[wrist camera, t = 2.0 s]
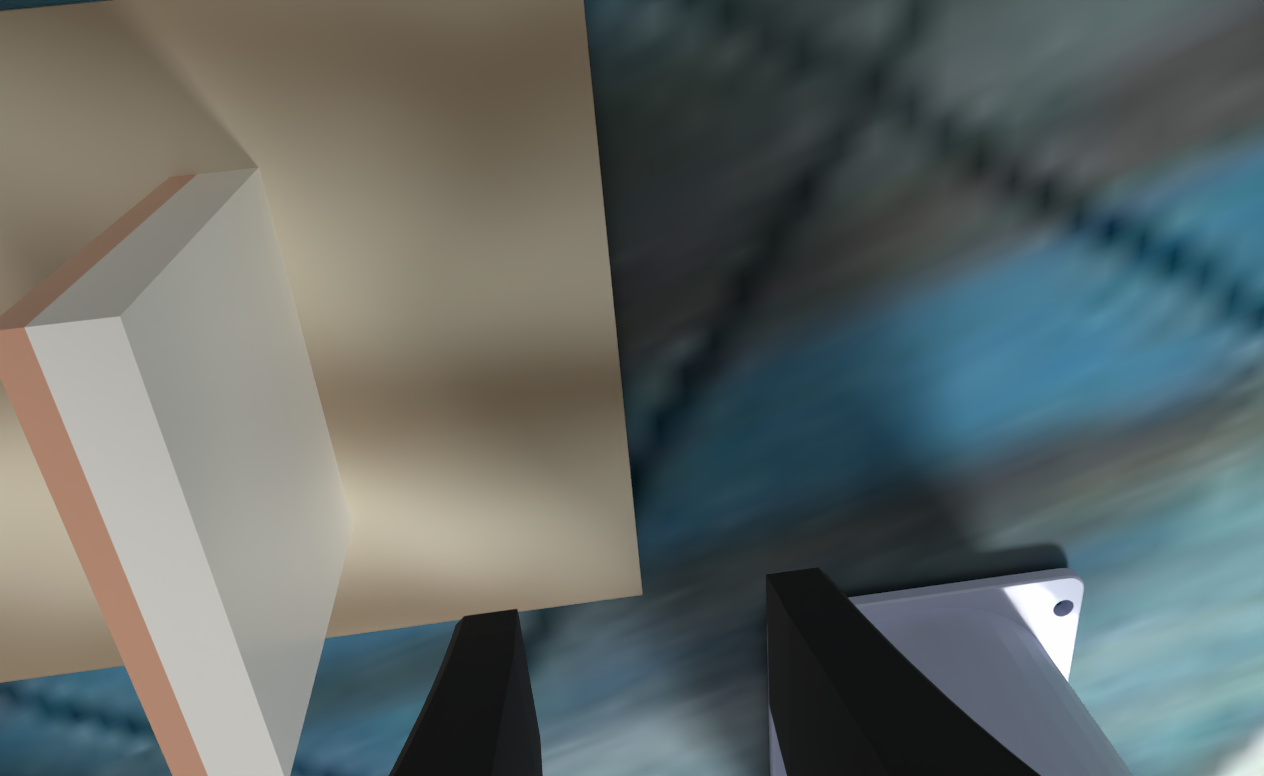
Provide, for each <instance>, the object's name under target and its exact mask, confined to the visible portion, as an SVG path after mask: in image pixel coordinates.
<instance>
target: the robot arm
mask: <svg viewBox="0 0 1264 776" xmlns="http://www.w3.org/2000/svg"><path fill="white" fill-rule="evenodd" d="M1083 593H1084V583H1083V581H1082V580H1081V578H1080V577H1079V576H1078V575H1077V574H1076V572H1075V571H1074V570H1071V569H1069V568H1058V569H1050V570H1043V571H1036V572H1029V573H1022V574H1014V575H1007V576H1000V577H993V578H986V579H978V580H971V581H964V582H957V583H949V584H942V585H935V586H928V587H921V588H913V589H906V590H899V591H892V592H884V593H877V594H870V595H863V596H856V597H848V598H847V596H846V595H845V594H844V593H843V592H842V591H841V590H840V589H839V588H838V587H837V586H836V584H835V583H834V582H833V581H832V580H831V579H830V578H829V577H828V576H827V575H826V574H825V573H824V572H823V571H821V570H820V569H819V568H811V569H804V570H797V571H789V572H782V573H775V574H767V575H766V595H767V653H768V695H769V737H770V776H1133V774H1132V773H1131V771H1130V770H1129V768H1128V767H1127V766H1126V764H1125V763H1124V761H1123V760H1122V758H1121V757H1120V756H1119V754H1118V753H1117V751H1116V750H1115V748H1114V747H1113V746H1112V744H1111V743H1110V741H1109V740H1108V738H1107V737H1106V736H1105V734H1104V733H1103V731H1102V730H1101V729H1100V727H1099V726H1098V724H1097V723H1096V721H1095V720H1094V719H1093V717H1092V716H1091V714H1090V713H1089V711H1088V710H1087V709H1086V707H1085V706H1084V704H1083V703H1082V701H1081V700H1080V699H1079V697H1078V696H1077V694H1076V693H1075V691H1074V690H1073V689H1072V687H1071V686H1070V684H1069V683H1068V681H1069V675H1070V670H1071V664H1072V658H1073V652H1074V646H1075V640H1076V634H1077V628H1078V622H1079V616H1080V610H1081V605H1082V599H1083ZM1063 600H1064V601H1063ZM1060 601H1063V602H1062V603H1061V604H1059V605H1056V604H1057V603H1058V602H1060ZM1055 605H1056V606H1055ZM389 776H543V775H542V759H541V743H540V734H539V728H538V723H537V717H536V711H535V706H534V700H533V694H532V689H531V683H530V677H529V672H528V666H527V661H526V655H525V649H524V644H523V638H522V632H521V627H520V621H519V615H518V610H517V609H511V610H504V611H497V612H489V613H482V614H475V615H467V616H464V617H463V618H462V619H461V620H460V621H459V622H458V623H457V624H456V626H455V629H454V632H453V635H452V638H451V641H450V644H449V646H448V649H447V652H446V654H445V657H444V659H443V662H442V664H441V667H440V669H439V672H438V674H437V676H436V679H435V681H434V684H433V686H432V688H431V690H430V692H429V695H428V697H427V699H426V701H425V704H424V706H423V708H422V710H421V712H420V714H419V716H418V719H417V721H416V723H415V725H414V727H413V729H412V731H411V733H410V735H409V737H408V739H407V741H406V743H405V745H404V747H403V749H402V751H401V753H400V755H399V757H398V759H397V761H396V763H395V765H394V767H393V769H392V771H391V772H390V774H389Z"/></svg>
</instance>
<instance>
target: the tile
mask: <svg viewBox="0 0 1264 776" xmlns="http://www.w3.org/2000/svg"><path fill="white" fill-rule="evenodd" d="M0 379H1V381H2V383H3V386H4V388H5V390H6V392H7V395H8V397H9V399H10V402H11V404H12V406H13V409H14V411H15V413H16V416H17V418H18V420H19V422H20V425H21V427H22V429H23V432H24V434H25V436H26V439H27V441H28V443H29V446H30V448H31V450H32V452H33V455H34V457H35V459H36V462H37V464H38V466H39V469H40V471H41V473H42V475H43V478H44V480H45V482H46V485H47V487H48V489H49V492H50V494H51V496H52V499H53V501H54V503H55V505H56V508H57V510H58V512H59V515H60V517H61V519H62V522H63V524H64V526H65V529H66V531H67V533H68V535H69V538H70V540H71V542H72V545H73V547H74V549H75V552H76V554H77V556H78V559H79V561H80V563H81V565H82V568H83V570H84V572H85V575H86V577H87V579H88V582H89V584H90V586H91V589H92V591H93V593H94V595H95V598H96V600H97V602H98V605H99V607H100V609H101V612H102V614H103V616H104V619H105V621H106V623H107V625H108V628H109V630H110V632H111V635H112V637H113V639H114V642H115V644H116V646H117V648H118V651H119V653H120V655H121V658H122V660H123V662H124V665H125V667H126V669H127V672H128V674H129V676H130V678H131V681H132V683H133V685H134V688H135V690H136V692H137V695H138V697H139V699H140V702H141V704H142V706H143V708H144V711H145V713H146V715H147V718H148V720H149V722H150V725H151V727H152V729H153V732H154V734H155V736H156V738H157V741H158V743H159V745H160V748H161V750H162V752H163V755H164V757H165V759H166V762H167V764H168V766H169V768H170V771H171V773H172V775H173V776H290V774H291V770H292V766H293V762H294V758H295V754H296V750H297V746H298V742H299V738H300V734H301V730H302V727H303V723H304V719H305V715H306V711H307V707H308V703H309V699H310V695H311V691H312V687H313V683H314V679H315V675H316V671H317V668H318V664H319V660H320V656H321V652H322V648H323V644H324V640H325V636H326V632H327V628H328V624H329V620H330V616H331V613H332V609H333V605H334V601H335V597H336V593H337V589H338V585H339V581H340V577H341V573H342V569H343V565H344V561H345V557H346V554H347V550H348V546H349V542H350V538H351V534H352V530H353V522H352V519H351V515H350V511H349V507H348V503H347V500H346V496H345V492H344V488H343V485H342V481H341V477H340V473H339V469H338V466H337V462H336V458H335V454H334V451H333V447H332V443H331V439H330V435H329V432H328V428H327V424H326V420H325V416H324V413H323V409H322V405H321V401H320V398H319V394H318V390H317V386H316V382H315V379H314V375H313V371H312V367H311V364H310V360H309V356H308V352H307V348H306V345H305V341H304V337H303V333H302V329H301V326H300V322H299V318H298V314H297V311H296V307H295V303H294V299H293V295H292V292H291V288H290V284H289V280H288V277H287V273H286V269H285V265H284V261H283V258H282V254H281V250H280V246H279V243H278V239H277V235H276V231H275V227H274V224H273V220H272V216H271V212H270V208H269V205H268V201H267V197H266V193H265V190H264V186H263V182H262V178H261V174H260V171H259V167H258V168H249V169H240V170H231V171H221V172H212V173H203V174H194V175H185V176H175V177H169V178H168V179H166V180H165V181H164V182H163V183H162V184H160V185H159V186H158V187H157V188H155V189H154V190H153V191H152V192H151V193H149V194H148V195H147V196H146V197H145V198H143V199H142V200H141V201H140V202H138V203H137V204H136V205H135V206H134V207H132V208H131V209H130V210H129V211H128V212H126V213H125V214H124V215H123V216H121V217H120V218H119V219H118V220H117V221H115V222H114V223H113V224H112V225H110V226H109V227H108V228H107V229H106V230H104V231H103V232H102V233H101V234H100V235H98V236H97V237H96V238H95V239H93V240H92V241H91V242H90V243H89V244H87V245H86V246H85V247H84V248H83V249H81V250H80V251H79V252H78V253H76V254H75V255H74V256H73V257H72V258H70V259H69V260H68V261H67V262H66V263H64V264H63V265H62V266H61V267H59V268H58V269H57V270H56V271H55V272H53V273H52V274H51V275H50V276H49V277H47V278H46V279H45V280H44V281H42V282H41V283H40V284H39V285H38V286H36V287H35V288H34V289H33V290H31V291H30V292H29V293H28V294H27V295H25V296H24V297H23V298H22V299H21V300H19V301H18V302H17V303H16V304H14V305H13V306H12V307H11V308H10V309H8V310H7V311H6V312H5V313H4V314H2V315H1V316H0Z"/></svg>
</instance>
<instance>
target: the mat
mask: <svg viewBox="0 0 1264 776" xmlns="http://www.w3.org/2000/svg"><path fill="white" fill-rule="evenodd" d="M258 167H259V171H260V174H261V178H262V182H263V186H264V190H265V193H266V197H267V201H268V205H269V208H270V212H271V216H272V220H273V224H274V227H275V231H276V235H277V239H278V243H279V246H280V250H281V254H282V258H283V261H284V265H285V269H286V273H287V277H288V280H289V284H290V288H291V292H292V295H293V299H294V303H295V307H296V311H297V314H298V318H299V322H300V326H301V329H302V333H303V337H304V341H305V345H306V348H307V352H308V356H309V360H310V364H311V367H312V371H313V375H314V379H315V382H316V386H317V390H318V394H319V398H320V401H321V405H322V409H323V413H324V416H325V420H326V424H327V428H328V432H329V435H330V439H331V443H332V447H333V451H334V454H335V458H336V462H337V466H338V469H339V473H340V477H341V481H342V485H343V488H344V492H345V496H346V500H347V503H348V507H349V511H350V515H351V519H352V522H353V530H352V534H351V538H350V542H349V546H348V550H347V554H346V557H345V561H344V565H343V569H342V573H341V577H340V581H339V585H338V589H337V593H336V597H335V601H334V605H333V609H332V613H331V616H330V620H329V624H328V628H327V632H326V636H325V638H330V637H337V636H344V635H352V634H359V633H366V632H374V631H381V630H388V629H396V628H403V627H410V626H417V625H425V624H432V623H439V622H447V621H454V620H461V619H462V618H463V617H464V616H467V615H475V614H482V613H489V612H497V611H504V610H511V609H517V610H518V612H520V611H527V610H535V609H542V608H549V607H557V606H564V605H571V604H578V603H586V602H593V601H600V600H608V599H615V598H622V597H630V596H637V595H642V585H641V574H640V564H639V554H638V544H637V534H636V524H635V514H634V504H633V494H632V484H631V474H630V464H629V454H628V443H627V433H626V423H625V413H624V403H623V393H622V383H621V373H620V363H619V353H618V343H617V333H616V323H615V313H614V302H613V292H612V282H611V272H610V262H609V252H608V242H607V232H606V222H605V212H604V202H603V192H602V182H601V172H600V161H599V151H598V141H597V131H596V121H595V111H594V101H593V91H592V81H591V71H590V61H589V51H588V41H587V31H586V20H585V10H584V0H102V1H92V2H82V3H71V4H61V5H51V6H41V7H31V8H20V9H10V10H0V316H1V315H2V314H4V313H5V312H6V311H7V310H8V309H10V308H11V307H12V306H13V305H14V304H16V303H17V302H18V301H19V300H21V299H22V298H23V297H24V296H25V295H27V294H28V293H29V292H30V291H31V290H33V289H34V288H35V287H36V286H38V285H39V284H40V283H41V282H42V281H44V280H45V279H46V278H47V277H49V276H50V275H51V274H52V273H53V272H55V271H56V270H57V269H58V268H59V267H61V266H62V265H63V264H64V263H66V262H67V261H68V260H69V259H70V258H72V257H73V256H74V255H75V254H76V253H78V252H79V251H80V250H81V249H83V248H84V247H85V246H86V245H87V244H89V243H90V242H91V241H92V240H93V239H95V238H96V237H97V236H98V235H100V234H101V233H102V232H103V231H104V230H106V229H107V228H108V227H109V226H110V225H112V224H113V223H114V222H115V221H117V220H118V219H119V218H120V217H121V216H123V215H124V214H125V213H126V212H128V211H129V210H130V209H131V208H132V207H134V206H135V205H136V204H137V203H138V202H140V201H141V200H142V199H143V198H145V197H146V196H147V195H148V194H149V193H151V192H152V191H153V190H154V189H155V188H157V187H158V186H159V185H160V184H162V183H163V182H164V181H165V180H166V179H168V178H169V177H175V176H185V175H194V174H203V173H212V172H221V171H231V170H240V169H249V168H258ZM117 666H125V665H124V662H123V660H122V658H121V655H120V653H119V651H118V648H117V646H116V644H115V642H114V639H113V637H112V635H111V632H110V630H109V628H108V625H107V623H106V621H105V619H104V616H103V614H102V612H101V609H100V607H99V605H98V602H97V600H96V598H95V595H94V593H93V591H92V589H91V586H90V584H89V582H88V579H87V577H86V575H85V572H84V570H83V568H82V565H81V563H80V561H79V559H78V556H77V554H76V552H75V549H74V547H73V545H72V542H71V540H70V538H69V535H68V533H67V531H66V529H65V526H64V524H63V522H62V519H61V517H60V515H59V512H58V510H57V508H56V505H55V503H54V501H53V499H52V496H51V494H50V492H49V489H48V487H47V485H46V482H45V480H44V478H43V475H42V473H41V471H40V469H39V466H38V464H37V462H36V459H35V457H34V455H33V452H32V450H31V448H30V446H29V443H28V441H27V439H26V436H25V434H24V432H23V429H22V427H21V425H20V422H19V420H18V418H17V416H16V413H15V411H14V409H13V406H12V404H11V402H10V399H9V397H8V395H7V392H6V390H5V388H4V386H3V383H2V381H1V379H0V682H8V681H15V680H22V679H30V678H37V677H44V676H52V675H59V674H66V673H74V672H81V671H88V670H95V669H103V668H110V667H117Z"/></svg>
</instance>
